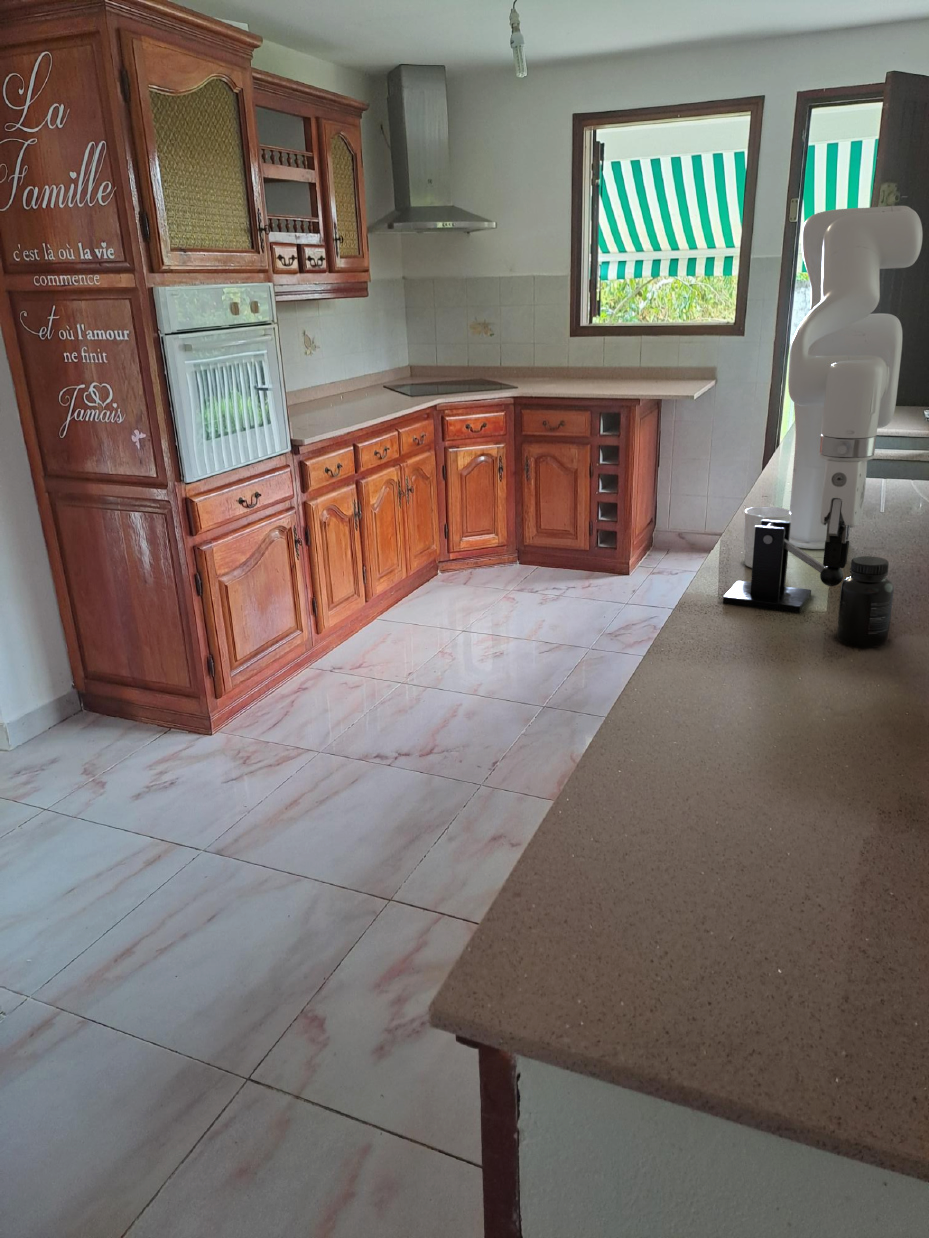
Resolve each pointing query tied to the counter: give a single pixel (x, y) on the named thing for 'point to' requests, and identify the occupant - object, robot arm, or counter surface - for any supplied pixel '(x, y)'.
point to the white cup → (754, 518)
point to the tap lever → (816, 564)
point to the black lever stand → (769, 574)
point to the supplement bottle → (865, 603)
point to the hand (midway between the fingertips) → (834, 565)
